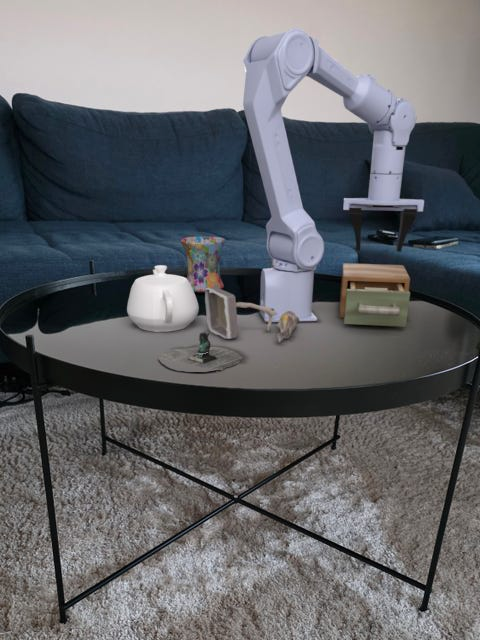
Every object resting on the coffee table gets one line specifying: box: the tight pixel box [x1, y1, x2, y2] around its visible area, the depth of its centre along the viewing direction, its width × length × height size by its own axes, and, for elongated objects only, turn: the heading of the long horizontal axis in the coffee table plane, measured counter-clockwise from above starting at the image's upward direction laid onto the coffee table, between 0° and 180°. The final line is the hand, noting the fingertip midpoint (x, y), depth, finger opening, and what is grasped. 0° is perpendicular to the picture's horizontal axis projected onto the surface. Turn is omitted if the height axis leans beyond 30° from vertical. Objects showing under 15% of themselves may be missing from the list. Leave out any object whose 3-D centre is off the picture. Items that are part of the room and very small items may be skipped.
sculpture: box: [158, 331, 243, 371], centre depth 88 cm, size 12×9×8 cm
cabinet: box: [339, 262, 411, 319], centre depth 112 cm, size 13×12×8 cm
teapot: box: [126, 264, 200, 333], centre depth 102 cm, size 20×12×10 cm, turn 14°
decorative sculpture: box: [204, 287, 300, 343], centre depth 97 cm, size 16×10×7 cm, turn 95°
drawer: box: [343, 281, 411, 328], centre depth 103 cm, size 16×10×6 cm, turn 171°
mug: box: [180, 235, 226, 294], centre depth 127 cm, size 12×9×11 cm
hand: (378, 250), depth 114 cm, fingers open, 7 cm apart
